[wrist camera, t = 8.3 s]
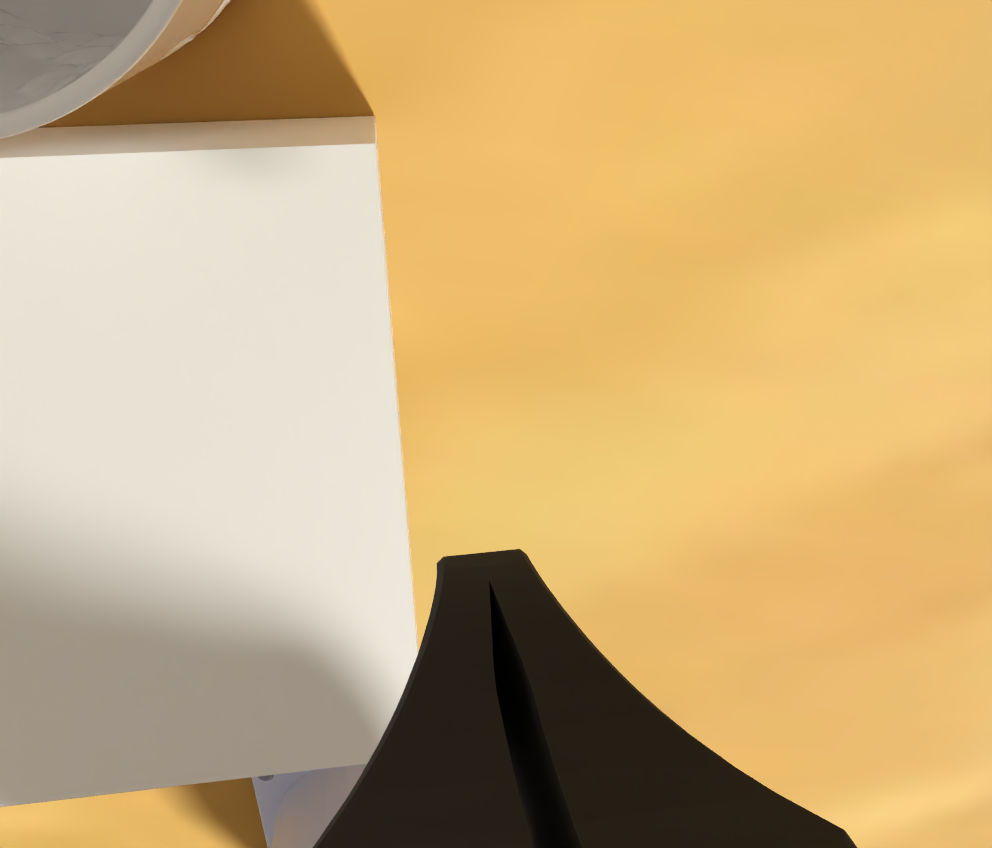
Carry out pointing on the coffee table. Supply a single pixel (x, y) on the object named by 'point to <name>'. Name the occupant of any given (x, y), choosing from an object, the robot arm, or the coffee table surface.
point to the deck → (197, 456)
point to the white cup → (84, 50)
